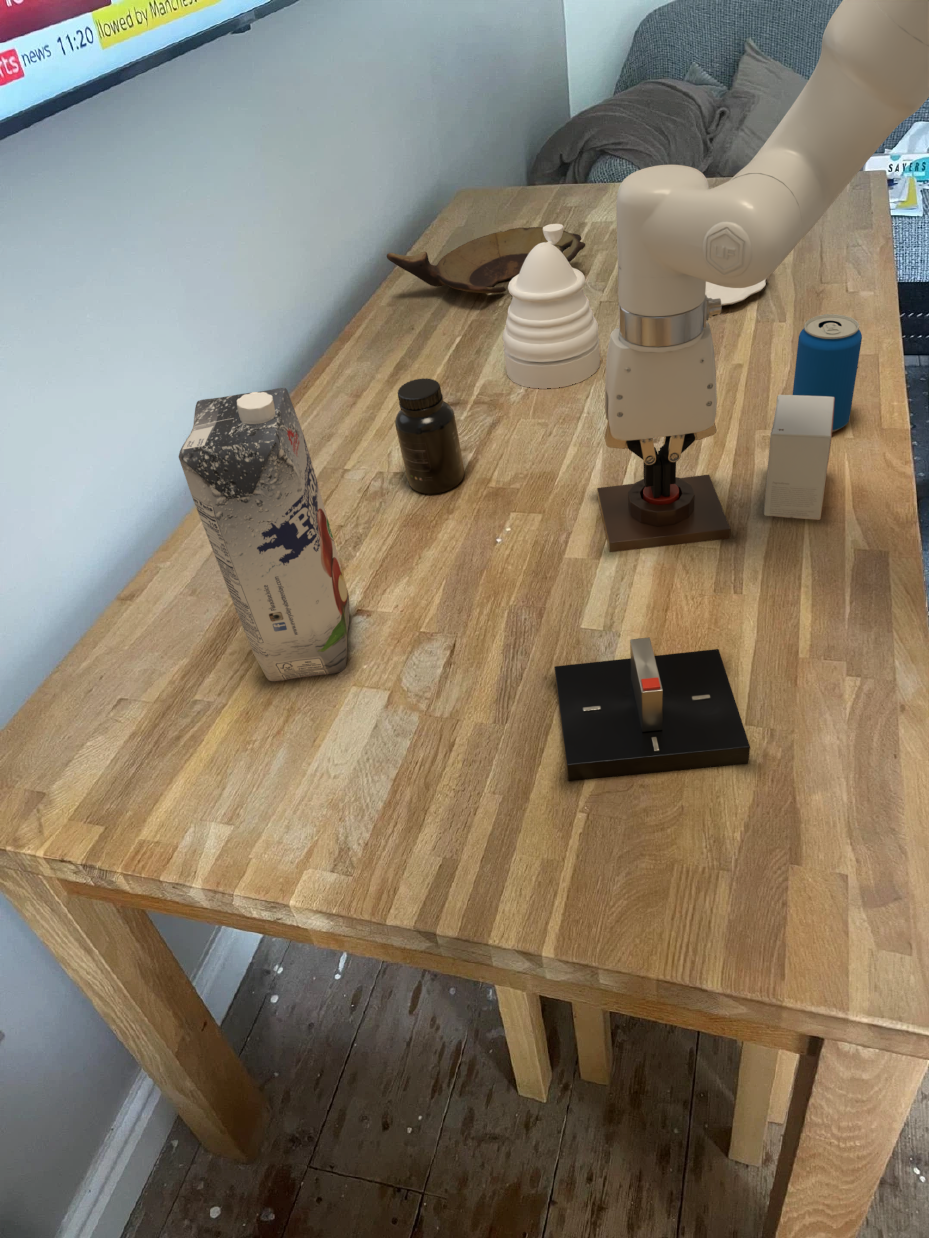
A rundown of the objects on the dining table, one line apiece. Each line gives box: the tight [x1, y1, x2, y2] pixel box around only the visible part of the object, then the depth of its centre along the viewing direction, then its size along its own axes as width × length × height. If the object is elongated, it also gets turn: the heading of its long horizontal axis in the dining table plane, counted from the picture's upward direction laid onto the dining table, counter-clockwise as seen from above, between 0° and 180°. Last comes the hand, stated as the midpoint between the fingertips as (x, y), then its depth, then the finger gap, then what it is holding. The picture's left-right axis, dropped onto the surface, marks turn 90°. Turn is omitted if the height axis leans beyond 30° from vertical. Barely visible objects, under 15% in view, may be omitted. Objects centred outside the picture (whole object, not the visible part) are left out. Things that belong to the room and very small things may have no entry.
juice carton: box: [178, 387, 350, 682], centre depth 82 cm, size 9×10×27 cm
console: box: [554, 648, 751, 782], centre depth 77 cm, size 14×11×3 cm
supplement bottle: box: [394, 377, 465, 495], centre depth 107 cm, size 7×7×12 cm
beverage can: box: [792, 313, 863, 433], centre depth 105 cm, size 6×6×12 cm
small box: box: [763, 394, 835, 521], centre depth 95 cm, size 8×6×10 cm
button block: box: [596, 474, 731, 553], centre depth 97 cm, size 12×10×4 cm
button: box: [643, 484, 679, 505], centre depth 96 cm, size 4×4×2 cm
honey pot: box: [502, 223, 601, 390], centre depth 123 cm, size 13×13×18 cm
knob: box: [629, 637, 663, 732], centre depth 75 cm, size 6×2×5 cm, turn 1°
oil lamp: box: [386, 226, 586, 294], centre depth 151 cm, size 22×30×8 cm
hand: (659, 489), depth 96 cm, fingers closed
